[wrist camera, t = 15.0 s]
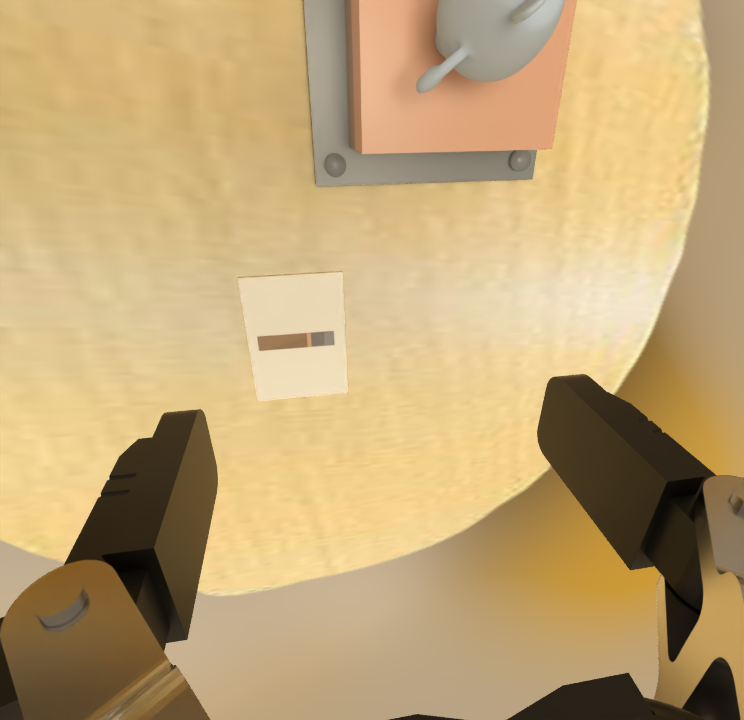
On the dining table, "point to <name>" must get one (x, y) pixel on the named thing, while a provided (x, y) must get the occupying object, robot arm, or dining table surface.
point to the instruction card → (295, 334)
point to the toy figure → (490, 37)
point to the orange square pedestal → (420, 100)
